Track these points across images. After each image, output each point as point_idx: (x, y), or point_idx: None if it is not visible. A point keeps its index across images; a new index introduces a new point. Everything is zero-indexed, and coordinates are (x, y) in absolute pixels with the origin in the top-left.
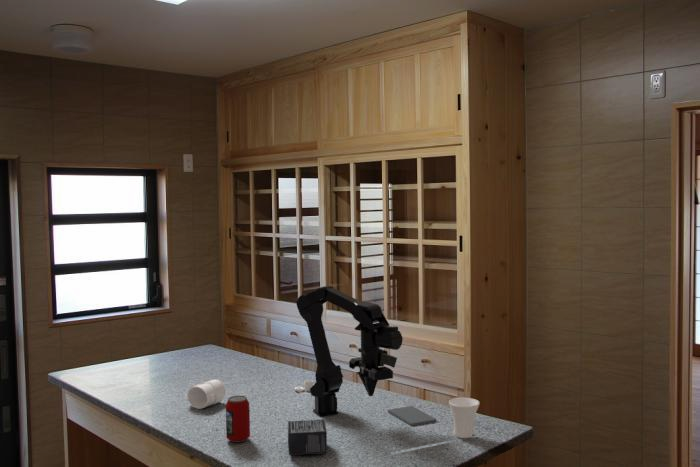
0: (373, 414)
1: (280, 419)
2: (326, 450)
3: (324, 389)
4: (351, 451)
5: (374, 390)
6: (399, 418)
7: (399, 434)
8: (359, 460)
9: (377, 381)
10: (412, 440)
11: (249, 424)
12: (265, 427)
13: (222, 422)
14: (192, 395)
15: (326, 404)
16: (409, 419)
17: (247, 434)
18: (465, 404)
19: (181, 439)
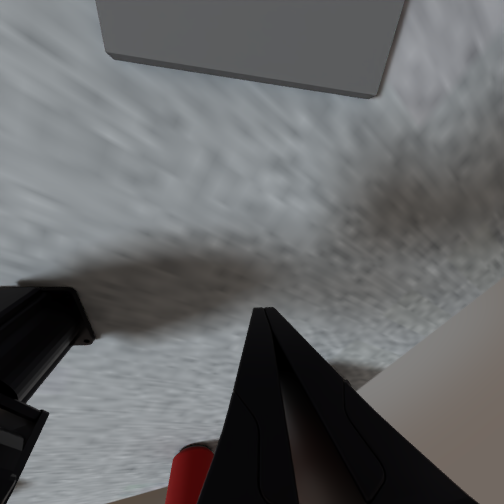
0: (128, 164)
1: (95, 408)
2: (350, 385)
3: (20, 468)
4: (369, 345)
5: (302, 337)
6: (259, 81)
7: (387, 205)
8: (410, 346)
9: (432, 463)
10: (452, 198)
11: (200, 482)
12: (147, 427)
13: (87, 467)
14: None
15: (53, 357)
16: (329, 53)
17: (209, 460)
18: None
19: (160, 487)
